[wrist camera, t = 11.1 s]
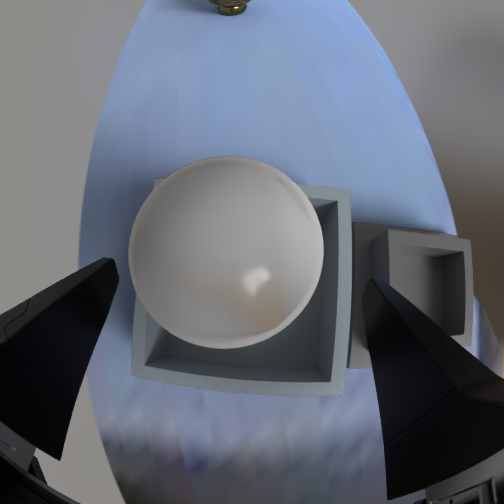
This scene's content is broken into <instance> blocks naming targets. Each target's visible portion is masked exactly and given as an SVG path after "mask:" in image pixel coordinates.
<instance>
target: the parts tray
mask: <svg viewBox="0 0 504 504" xmlns="http://www.w3.org/2000/svg"><path fill="white" fill-rule="evenodd" d="M164 179H165V178H155V181H154V185H153V190H154V189H155V188H156V187H157V185H159V184H160V183H161V182H162V181H163V180H164ZM297 185H298V186H299V188H300V189H301V190H302V191H303V192H304V193H305V195H306V196H307V198H308V199H309V201H310V202H311V204H312V206H313V208H314V210H315V212H316V214H317V217H318V220H319V223H320V226H321V231H322V236H323V248H324V255H323V265H322V270H321V274H320V278H319V281H318V284H317V286H316V289H315V291H314V293H313V295H312V297H311V298H310V300H309V302H308V304H307V305H306V306H305V308H304V309H303V310H302V312H301V313H300V314H299V315H298V316H297V317H296V318H295V319H294V320H293V321H292V322H291V323H290V324H289V325H288V326H286V327H285V328H284V329H282V330H281V331H280V332H278V333H277V334H275V335H273V336H271V337H269V338H268V339H266V340H263V341H261V342H258V343H255V344H252V345H248V346H244V347H240V348H229V349H219V348H209V347H203V346H198V345H195V344H192V343H190V342H187V341H184V340H182V339H180V338H178V337H176V336H175V335H173V334H171V333H170V332H169V331H167V330H166V329H164V328H163V327H162V326H161V325H160V324H159V323H158V322H156V321H155V320H154V319H153V318H152V316H151V315H150V314H149V313H148V311H147V310H146V309H145V307H144V306H143V304H142V302H141V301H140V299H139V297H138V295H137V293H136V298H135V309H134V322H133V339H132V371H131V376H135V377H139V378H144V379H148V380H153V381H158V382H163V383H168V384H174V385H179V386H185V387H192V388H198V389H206V390H214V391H222V392H232V393H243V394H257V395H277V396H328V395H343V388H344V381H345V372H346V363H347V354H348V342H349V330H350V314H351V290H352V227H351V204H350V190H347V189H339V188H331V187H322V186H312V185H302V184H297ZM153 190H152V191H153Z"/></svg>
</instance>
